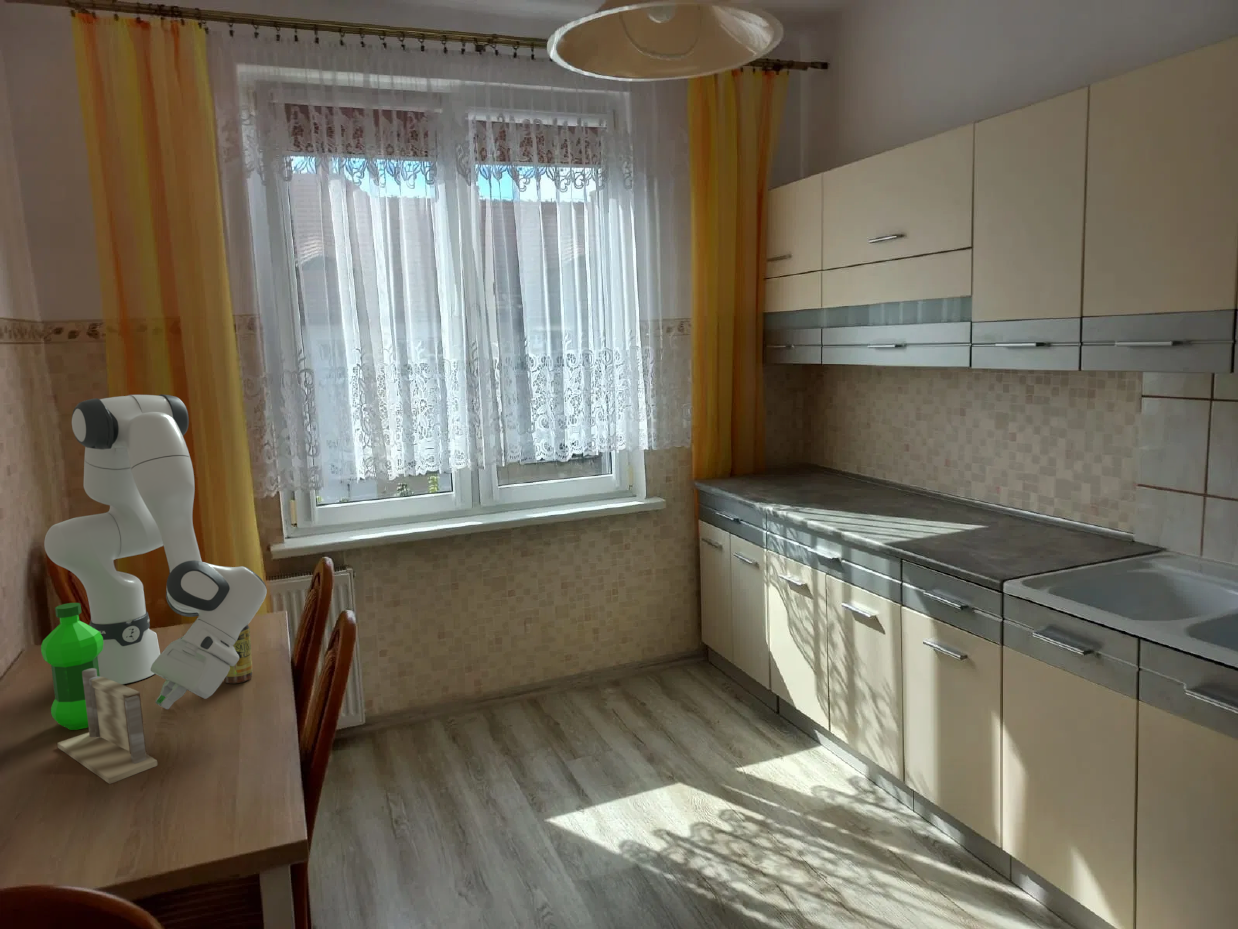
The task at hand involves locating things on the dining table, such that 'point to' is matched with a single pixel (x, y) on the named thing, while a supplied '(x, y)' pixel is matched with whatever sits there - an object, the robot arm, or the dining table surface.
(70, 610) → the plastic bottle
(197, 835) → the dining table surface
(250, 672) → the sauce bottle
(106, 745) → the wooden stand
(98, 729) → the gate
